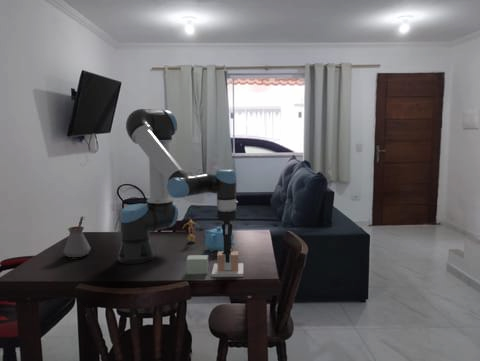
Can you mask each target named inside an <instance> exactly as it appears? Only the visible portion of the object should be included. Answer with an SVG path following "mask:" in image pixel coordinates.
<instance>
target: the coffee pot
mask: <svg viewBox="0 0 480 361" xmlns="http://www.w3.org/2000/svg"><path fill="white" fill-rule="evenodd" d="M79 219H80V220H79V222H78V226H71V227H68V228H67V230H68V231H69V234H68V237H67V240H66V244H65V245H64V248H63V254H64V255H65V256H66V257H68V258H69V257H81V258H83V257H82V256H84V257H86V256H87V255H88V254H89V253H90V251H91V246H90V244H89V242H88V240H87V238H86V237H85V235H84V233H83V230H84V228H85V227H84V226H82V224H83V221H84V219H86V217H85V216H81V217H80V218H79ZM86 254H87V255H86ZM85 255H86V256H85Z"/></svg>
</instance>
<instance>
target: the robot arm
mask: <svg viewBox="0 0 480 361" xmlns="http://www.w3.org/2000/svg"><path fill="white" fill-rule="evenodd" d="M125 129H126V133H127V135H128V137H129V138H130V140H131V141H132V142H133V144H137V145H138V147H140V149H141V150H142V151H143V152H144V153H145V155H146V156H147V157H148V162H149V167H148V168H149V197H148V198H147V200H146V203H135V204H134V203H133V204H130V205H127V206H125V207H122V209H121V211H120V213H119V214H120V217H119V221H120V235H121V245H120V248H119V252H118V257H117V258H118V262H119V263H122V264H126V265H133V264H134V265H138V264H143V263H147V262H149V261H152V260H154V258H155V251H154V249H153V246H152V244H151V242H150V233H152V232H156V231H159V230H165V229H168V228H171V227H173V226H174V225H175V224H176V223H177V221H178V217H179V209H178V207H177V205H176V203H174V202H173V201H174V200H173V198H174V199H177V198H185V197H190V196H194V195H201V194H206V193H209V194H210V193H211V194H216V209H217V211H216V212H217V213H216V216H217V220H218V221H220V222H223V223H222V225H221V227H222V228H221V229H222V230H223V236H224V253H222V254H224V270H231V251H233V249H234V246H231V245H233V244H231V236H232V233H233V223H232V222H231V221H233V222H234V221H236V220H237V216H238V213H237V204H239V200H237V176H236V170H234V169H229V168H228V169H224V168H223V169H217V171H215V173H207V172H199V173H196V174H194V175H188V174H187V173H186V172H185V170H184V169H183V168H182V166H181V165H180V164H179V163H178V161H176V159H175V158H174V156H172V154H171V153H170V151H169V149H170V148H169V144H170V143H171V142H172V139H173V138H172V137H173V136H174V135H175V134H176V132H177V129H178V121H177V119H176V116H175V114H174V113H173V112H172V111H170V110H168V109H162V108H160V109H159V108H158V109H155V108H154V109H147V108H146V109H145V108H140V109H139V108H138V109H136V110H133V111H132V112H131V113H130V114H129V115H128V116H127V119H126V122H125Z"/></svg>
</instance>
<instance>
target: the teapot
mask: <svg viewBox="0 0 480 361" xmlns="http://www.w3.org/2000/svg"><path fill="white" fill-rule="evenodd" d="M204 236H205V239H204V243H205V247H206V248H207V249H208V251H209V252H210V253H213V252H215V251H217V252H219V251H224V236H223V230H222V226H217V227H216V228H212V229H207V230H205V231H204ZM234 238H235V235H234V233H233V232H232V236H231V244H232V245H231V246H233V247H234V246H235V242H234Z"/></svg>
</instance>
